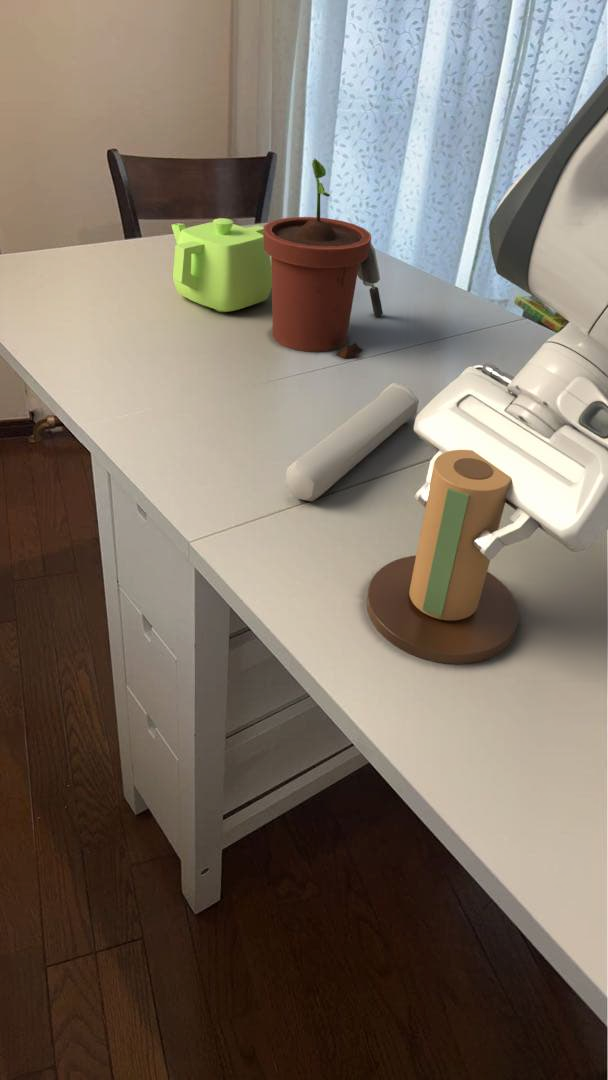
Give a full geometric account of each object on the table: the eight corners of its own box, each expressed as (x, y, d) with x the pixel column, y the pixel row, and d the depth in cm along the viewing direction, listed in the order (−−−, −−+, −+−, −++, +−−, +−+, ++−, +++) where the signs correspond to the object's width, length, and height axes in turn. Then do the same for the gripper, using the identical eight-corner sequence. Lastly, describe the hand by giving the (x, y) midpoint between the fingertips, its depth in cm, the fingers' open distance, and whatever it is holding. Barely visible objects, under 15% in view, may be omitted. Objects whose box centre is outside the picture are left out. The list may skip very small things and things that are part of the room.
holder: (530, 592, 78) (534, 580, 77) (494, 686, 68) (498, 673, 67) (396, 548, 82) (398, 536, 81) (343, 629, 72) (344, 617, 71)
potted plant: (253, 313, 131) (258, 147, 116) (381, 314, 135) (402, 153, 120) (265, 358, 117) (272, 176, 102) (407, 358, 121) (434, 182, 106)
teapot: (133, 294, 134) (128, 213, 126) (218, 270, 147) (218, 195, 139) (209, 327, 125) (209, 242, 117) (293, 298, 138) (298, 220, 130)
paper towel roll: (482, 585, 76) (516, 458, 67) (472, 630, 71) (507, 498, 62) (417, 568, 77) (441, 442, 69) (402, 611, 72) (426, 479, 64)
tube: (324, 485, 84) (425, 398, 101) (284, 455, 85) (391, 374, 102) (307, 518, 87) (407, 429, 105) (269, 490, 88) (375, 406, 106)
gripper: (464, 337, 72) (363, 454, 73) (648, 441, 58) (520, 583, 60) (491, 374, 76) (395, 484, 78) (667, 478, 63) (547, 609, 64)
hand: (450, 528), depth 69 cm, fingers closed on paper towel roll, 6 cm apart
